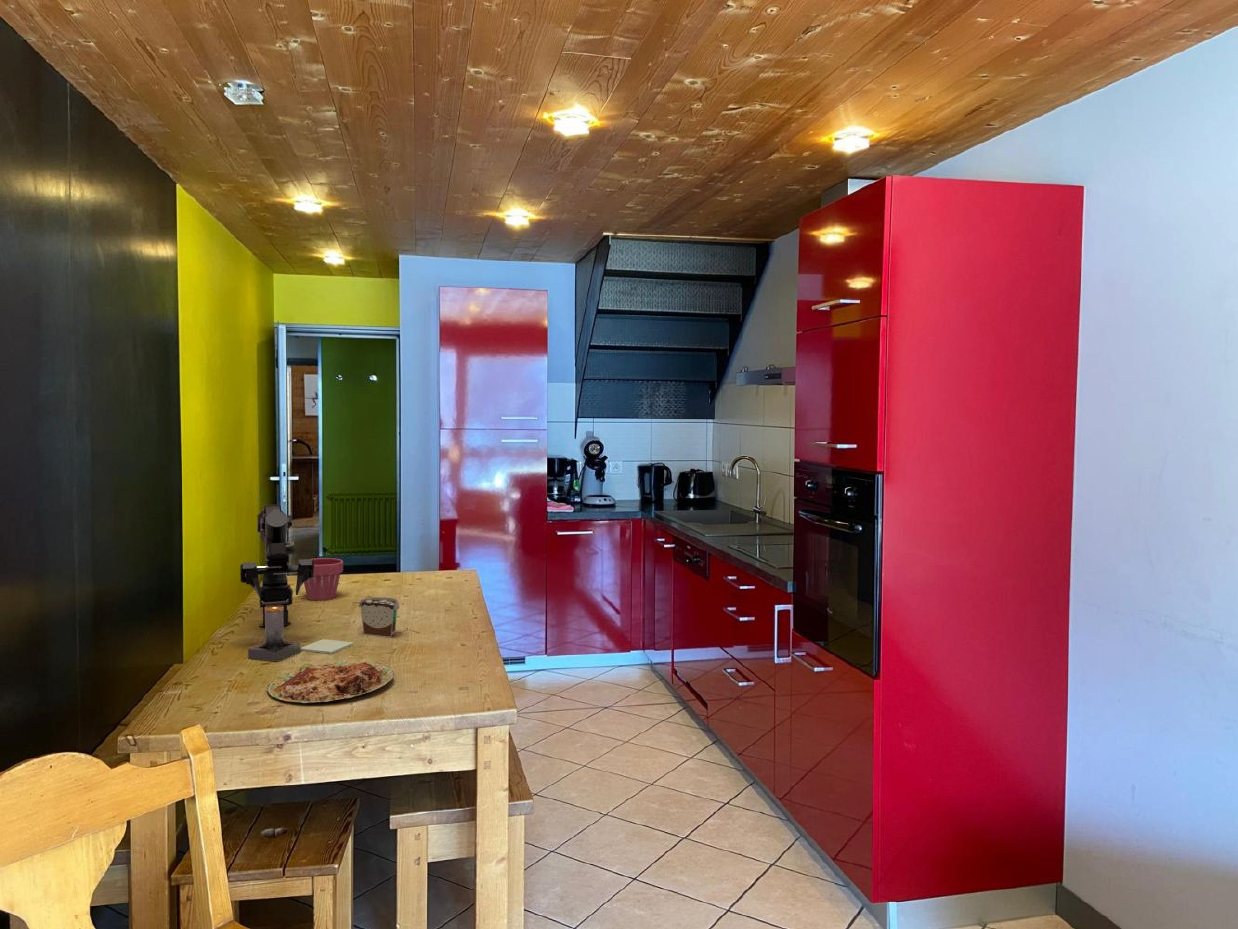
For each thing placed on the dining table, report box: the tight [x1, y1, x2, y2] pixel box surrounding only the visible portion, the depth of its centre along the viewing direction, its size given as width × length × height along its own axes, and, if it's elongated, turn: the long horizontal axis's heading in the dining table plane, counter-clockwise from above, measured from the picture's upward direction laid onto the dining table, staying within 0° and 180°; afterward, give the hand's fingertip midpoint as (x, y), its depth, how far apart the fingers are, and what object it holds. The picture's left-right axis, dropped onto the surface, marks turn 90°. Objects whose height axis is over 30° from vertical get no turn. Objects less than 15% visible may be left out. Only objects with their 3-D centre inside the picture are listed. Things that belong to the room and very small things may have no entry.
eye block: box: [247, 641, 302, 663], centre depth 223 cm, size 9×9×2 cm
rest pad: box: [301, 638, 355, 655], centre depth 231 cm, size 10×10×1 cm
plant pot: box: [303, 557, 344, 601], centre depth 292 cm, size 14×14×13 cm
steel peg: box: [264, 605, 285, 650], centre depth 222 cm, size 4×4×13 cm
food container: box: [358, 596, 400, 638], centre depth 246 cm, size 12×6×10 cm, turn 71°
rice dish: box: [266, 661, 395, 704], centre depth 199 cm, size 28×28×5 cm
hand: (278, 595), depth 230 cm, fingers open, 9 cm apart
